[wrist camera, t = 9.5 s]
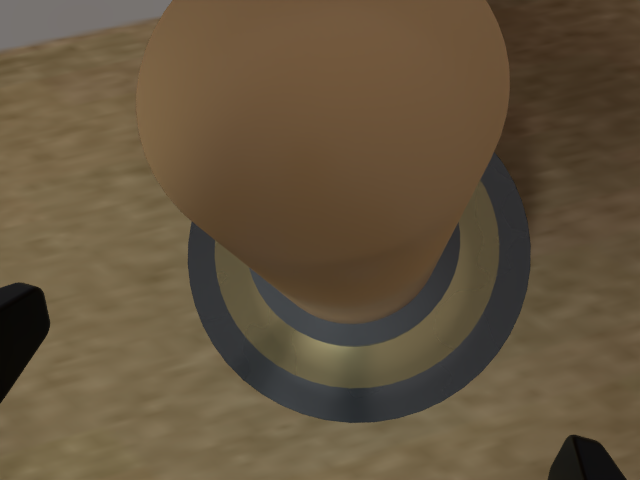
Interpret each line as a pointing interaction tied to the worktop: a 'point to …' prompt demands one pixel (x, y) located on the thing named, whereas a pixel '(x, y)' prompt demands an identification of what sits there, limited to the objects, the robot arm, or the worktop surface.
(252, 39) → the tan rounded stopper
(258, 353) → the grey round disc
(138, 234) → the worktop surface
